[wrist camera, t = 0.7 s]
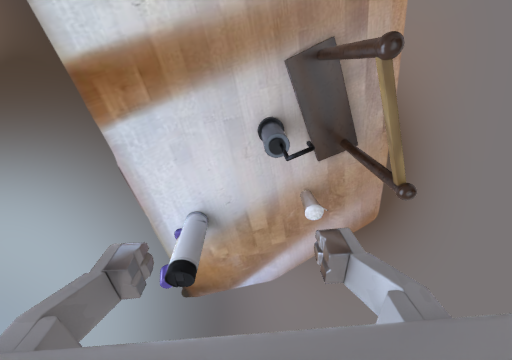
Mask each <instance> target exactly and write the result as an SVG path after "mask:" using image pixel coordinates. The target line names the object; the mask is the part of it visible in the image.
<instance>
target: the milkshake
mask: <svg viewBox="0 0 512 360" xmlns="http://www.w3.org/2000/svg"><path fill="white" fill-rule="evenodd" d="M300 197H301V201H302V204H303V208H304V213H305V216H306V217H307V218H308V219H310V220H317V219H320V218H321V217H322V215H323V213H324V210H323V209H325V208H323V207H322V206H321V205H320V204H319V202H318V201H317V200H316V198H315V197H314V195H313V194H312V192H311V191H309V190H304V191H302V192H301V194H300ZM325 210H326V209H325ZM327 211H328V210H327Z"/></svg>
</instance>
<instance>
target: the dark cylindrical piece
mask: <svg viewBox="0 0 512 360" xmlns="http://www.w3.org/2000/svg"><path fill="white" fill-rule="evenodd" d="M258 134H259V137H260V139H261V140H262V141H263V144H264V148H265V151H266V153H267V154H268V155H269V156H271V157H274V158H278V157H282V156H284V157H285V159H286V161H289V160H292V159H294V158H296V157H299V156H301V155H303V154H306V153H308V152H311V151H313V150H315V146H314V145H313V144H312V143H311V142H310V141H307V145H308V146H309V148H306V149H304V150H302V151H299V152H297V153H294V154H292V155H290V156H289V155H288V153H287V152H288V150H289V147H290V143H289V140H288V138H287V136H286V135H285V133H284V127H283V124H282V123H281V121H280V120H278V119H277V118H274V117H269V118H266V119H264V120H263V121H262V122H261V123H260V124H259V127H258Z"/></svg>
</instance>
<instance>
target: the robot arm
mask: <svg viewBox="0 0 512 360" xmlns="http://www.w3.org/2000/svg"><path fill="white" fill-rule="evenodd" d="M315 237H316V239H317V241H316V243H315V245H314V252H315V257H316V261H317V263H318V264H319V265H320V266H321V271H320V272H321V274H322V277H323V279H324V282H325V284H330V283H331V284H332V283H344V284H345V285H346V286H347V287H348V288H349V289H350V290H351V291H352V292H353V293H354V294H355V295H356V296H357V297H358V298H359V299H361V300H362V301H363V302H364V303H365V304H366V305H367V306H368V307H369V308H370V309H371V310H372V311H373V312H374V313H376V314H377V315H378V319H377V322H376V324H371V325H357V326H345V327H332V328H320V329H307V330H294V331H282V332H269V333H257V334H245V335H231V336H219V337H206V338H194V339H181V340H169V341H156V342H144V343H132V344H117V345H105V346H93V347H82V346H81V345H80V343H79V341H80V340H82V339H83V338H84V337H85V336H86V335H87V334H88V333H89V332H90V331H91V330H92V329H93V328H94V327H95V326H96V325H97V324H98V323H99V322H100V321H101V320H102V319H103V318H104V317H105V316H106V315H107V314H108V313H109V312H110V311H111V310H112V309H113V308H114V307H115V306H116V305H117V304H118V303H119V302H120V301H121V300H122V299H132V298H140V297H141V295H142V292H143V290H144V288H145V286H146V282H145V280H146V279H147V278H148V277H149V276H150V275H151V272H152V270H153V264H154V262H153V257H152V255H151V254H149V253H148V252H147V251H148V249H149V247H148V245H147V243H145V242H141V243H123V244H112V245H110V246H109V247H108V249H107V250H106V251H105V252H104V254H103V255H102V256H101V258H100V259H99V260H98V261H97V263H96V264H95V265H94V267H93V268H92V269H91V271H90V272H89V273H85V274H83V275H82V276H80V277H79V278H77V279H75V280H74V281H73V282H71V283H69V284H68V285H66V286H65V287H63V288H62V289H60V290H59V291H57V292H55V293H54V294H52V295H51V296H50V297H48V298H46V299H45V300H43V301H42V302H40V303H39V304H37V305H35V306H34V307H32V308H31V309H29V310H28V311H26V312H25V313H23V314H22V315H20V316H18V317H17V318H16V319H15V320H14V321H13V322H12V323H11V324H10V326H9V327H8V328H7V329H6V330H5V331H4V332H3V333H2V334H1V335H0V360H512V313H509V314H496V315H484V316H472V317H459V318H452V317H451V316H450V315H449V314H448V313H447V312H446V310H445V309H444V308H443V307H442V305H441V304H440V303H439V302H438V301H437V299H436V298H435V297H434V296H433V295H432V293H431V292H430V291H429V290H428V289H427V287H425V286H424V285H422V284H420V283H419V282H417V281H415V280H414V279H412V278H410V277H409V276H407V275H405V274H404V273H402V272H400V271H399V270H397V269H395V268H394V267H392V266H390V265H389V264H387V263H385V262H384V261H382V260H380V259H379V258H377V257H375V256H374V255H372V254H370V253H366V252H365V251H364V249H363V248H362V246H361V245H360V243H359V242H358V241H357V239H356V237H355V236H354V234H353V233H352V231H351V230H350V229H349V228H338V229H326V230H317V231H316V235H315Z"/></svg>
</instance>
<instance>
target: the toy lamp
mask: <svg viewBox="0 0 512 360" xmlns="http://www.w3.org/2000/svg"><path fill="white" fill-rule="evenodd" d="M181 231H182V229H178V230H176V231H175V238H176V239H177V242H178V239H179V236H180V234H181ZM177 242H176V244H177ZM175 247H176V246H175ZM175 247H174V250H175ZM173 252H174V251H173ZM171 257H172V256H171ZM168 265H169V264H167V265H165V266H163V267H162V268H161V271H160V285H161V287H163V288H171V287H172V286H170V285H169V284H167V283H166V282H165V280H164V277H165V274H166V272H167V269H168Z"/></svg>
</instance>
